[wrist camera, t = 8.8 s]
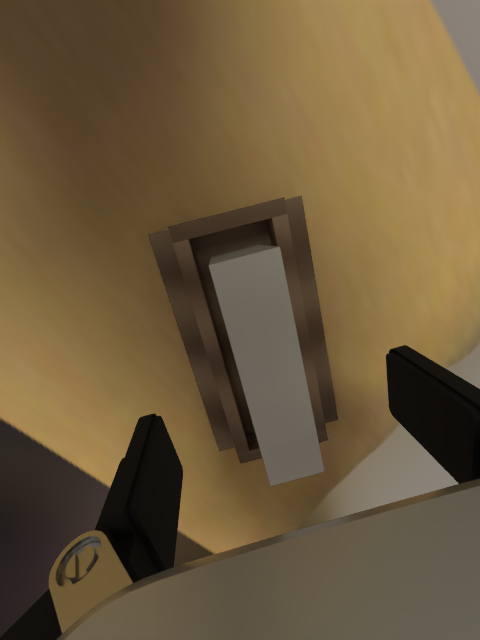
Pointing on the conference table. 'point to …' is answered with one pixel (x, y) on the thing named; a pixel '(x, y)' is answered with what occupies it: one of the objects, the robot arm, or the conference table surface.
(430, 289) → the conference table surface
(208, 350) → the rack
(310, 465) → the light grey block
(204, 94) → the conference table surface
